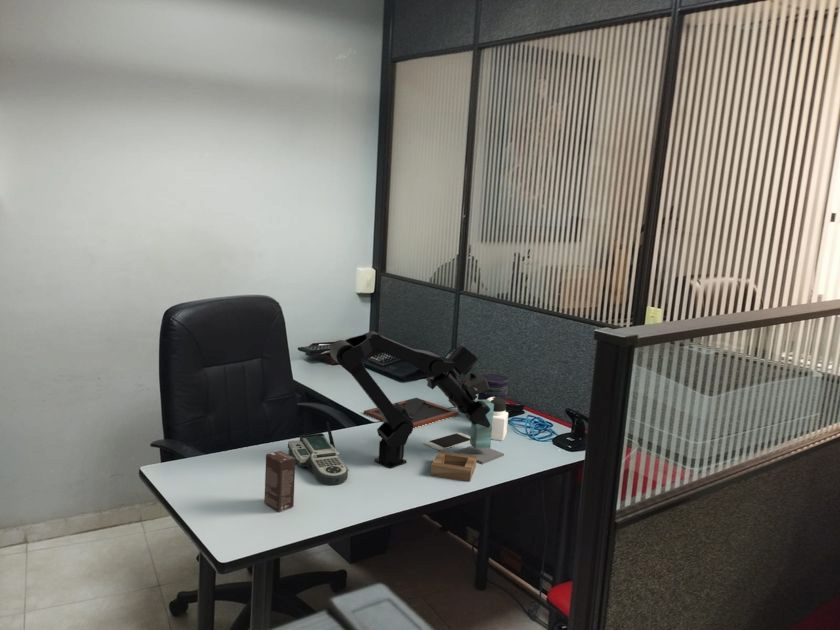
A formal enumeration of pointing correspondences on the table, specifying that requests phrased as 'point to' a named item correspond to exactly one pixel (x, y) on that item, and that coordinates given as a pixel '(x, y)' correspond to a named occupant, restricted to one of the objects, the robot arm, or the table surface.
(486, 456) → the mat
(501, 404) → the medicine bottle
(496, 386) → the storage jar
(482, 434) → the peg
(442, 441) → the smartphone
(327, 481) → the communication device
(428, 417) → the picture frame
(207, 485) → the table surface
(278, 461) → the box
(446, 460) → the pocket block
